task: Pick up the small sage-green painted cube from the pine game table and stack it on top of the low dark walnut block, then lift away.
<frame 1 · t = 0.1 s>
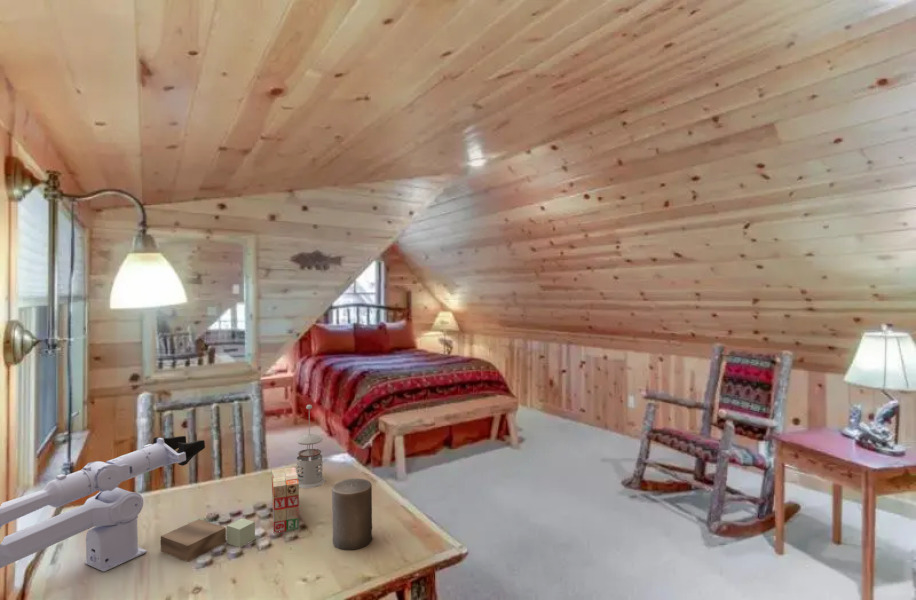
hand: (194, 441, 135), 22 cm above the table, tool horizontal, fingers open, 7 cm apart
walnut block: (193, 548, 123), on the table
french press: (309, 481, 164), on the table
stack of blocks: (284, 515, 141), on the table
pillar candle: (352, 541, 126), on the table
sage cube: (241, 541, 125), on the table
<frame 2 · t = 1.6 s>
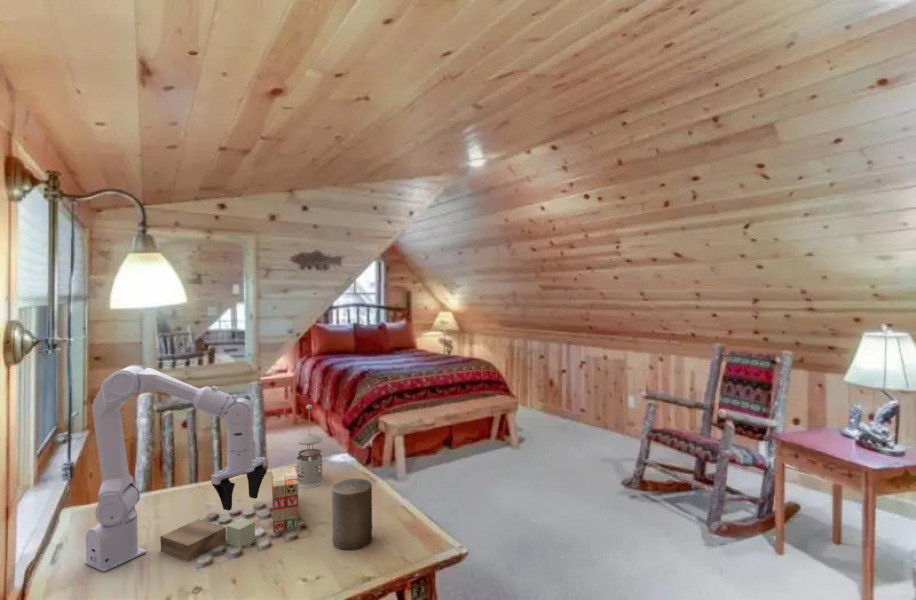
hand: (240, 503, 125), 9 cm above the table, tool pointing down, fingers open, 7 cm apart
nothing on the table moved.
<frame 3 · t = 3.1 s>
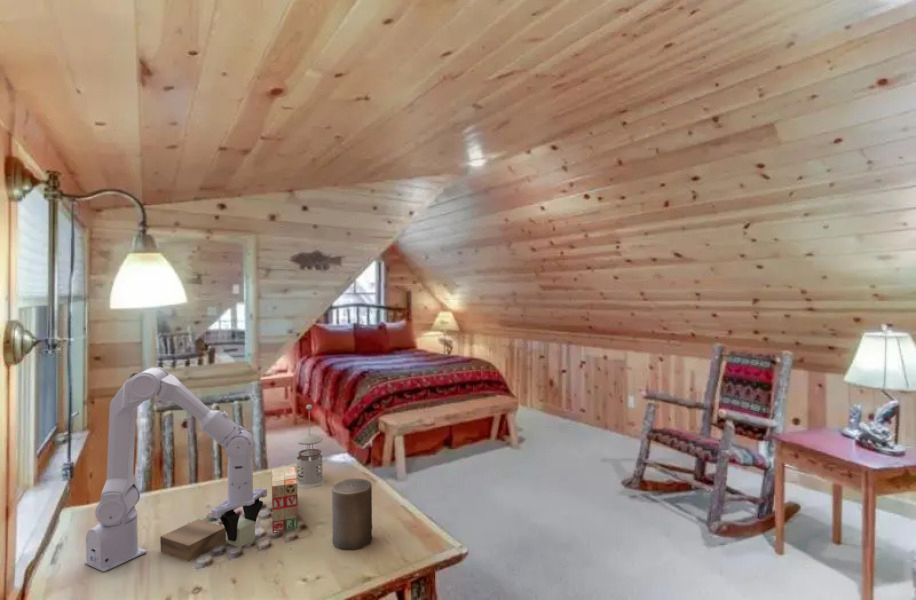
hand: (241, 535, 125), 1 cm above the table, tool pointing down, fingers closed on sage cube, 4 cm apart
sage cube: (241, 541, 125), on the table, touching gripper
everything else where it was.
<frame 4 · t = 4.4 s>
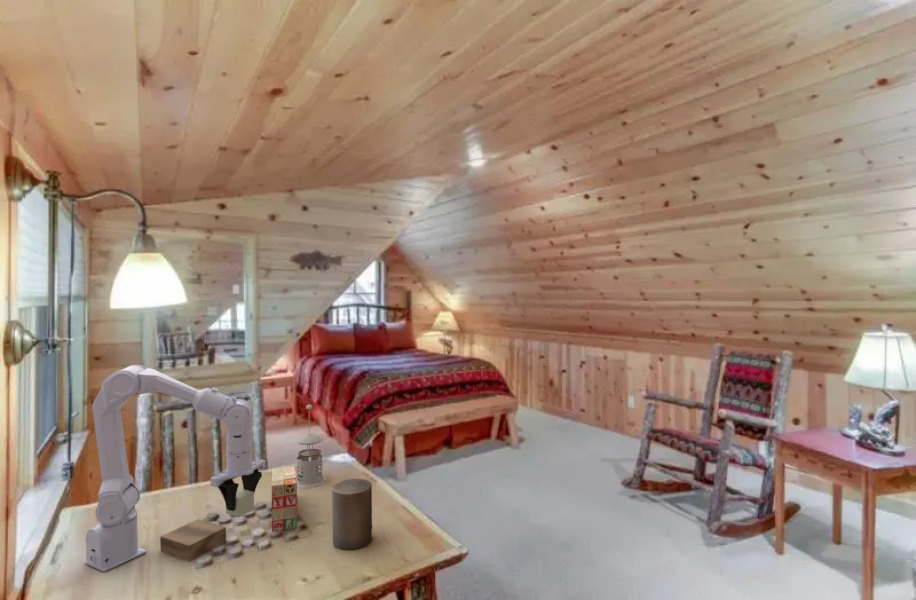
hand: (239, 505, 125), 9 cm above the table, tool pointing down, fingers closed on sage cube, 4 cm apart
sage cube: (240, 511, 125), point 7 cm above the table, touching gripper
everything else where it was.
when the fingers open (6 cm above the table, at t = 6.2 s): sage cube drops 1 cm, resting on walnut block.
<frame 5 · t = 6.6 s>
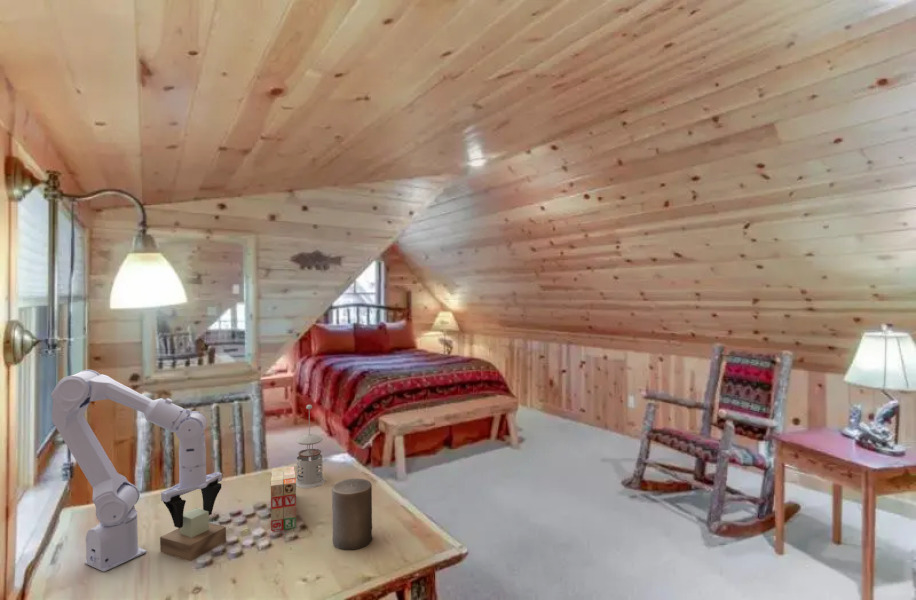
hand: (193, 520, 123), 6 cm above the table, tool pointing down, fingers open, 7 cm apart
walnut block: (193, 548, 123), on the table, touching sage cube
sage cube: (194, 531, 123), point 4 cm above the table, touching walnut block
everything else where it was.
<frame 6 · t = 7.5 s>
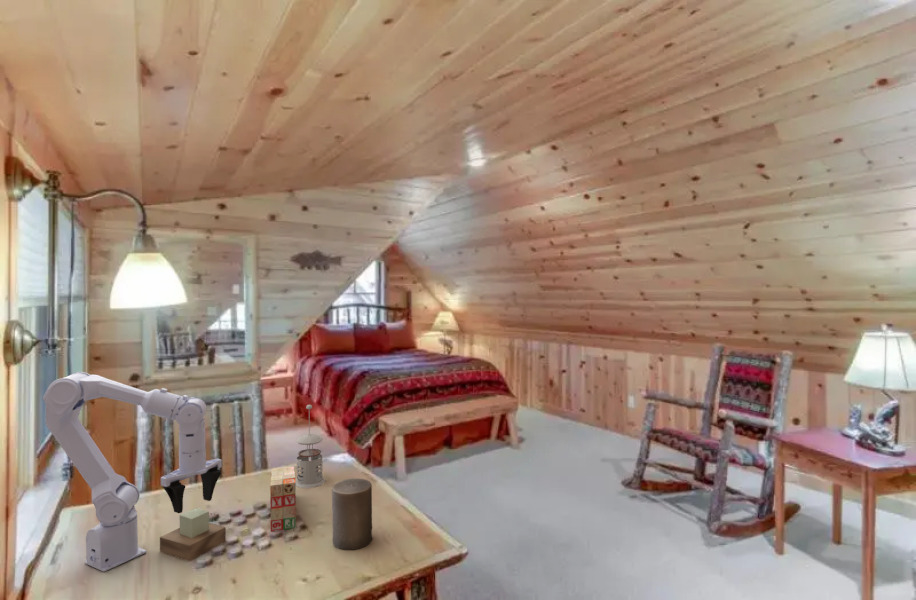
hand: (193, 505, 123), 10 cm above the table, tool pointing down, fingers open, 7 cm apart
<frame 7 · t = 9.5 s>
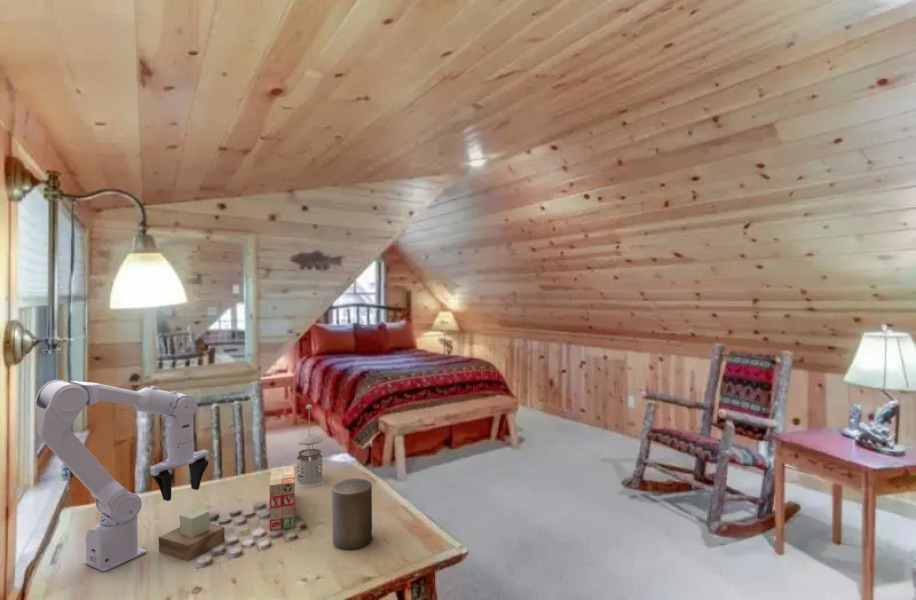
hand: (181, 494, 130), 10 cm above the table, tool pointing down, fingers open, 7 cm apart
at the end: sage cube 0.5 cm off-centre on the walnut block, point 4.0 cm above the walnut block's base; sage cube tilted 0°; the gripper is holding nothing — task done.
